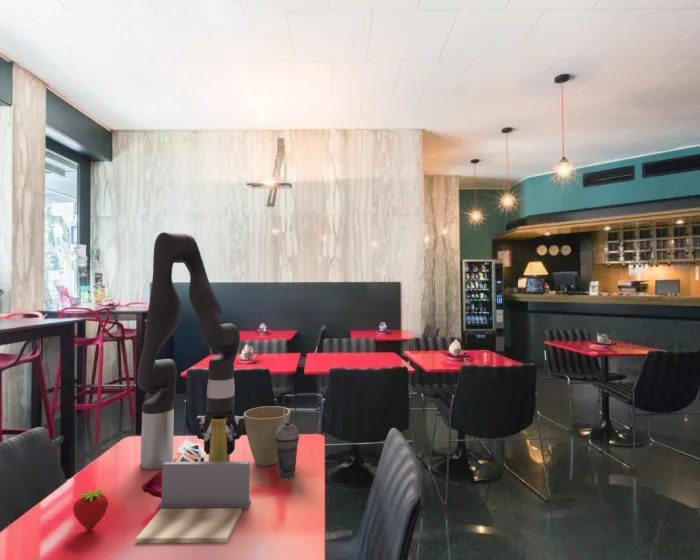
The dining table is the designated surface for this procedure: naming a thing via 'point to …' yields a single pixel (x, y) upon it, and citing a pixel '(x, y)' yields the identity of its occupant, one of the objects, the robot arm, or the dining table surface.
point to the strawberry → (90, 508)
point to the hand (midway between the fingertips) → (219, 453)
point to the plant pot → (264, 432)
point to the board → (190, 526)
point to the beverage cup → (286, 449)
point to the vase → (218, 442)
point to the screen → (205, 485)
